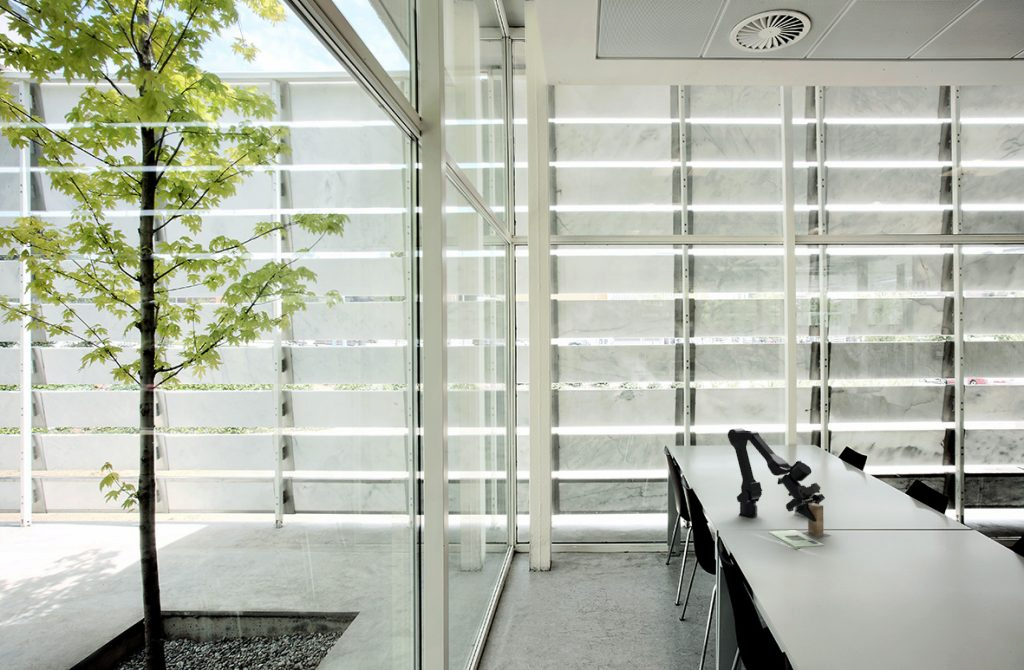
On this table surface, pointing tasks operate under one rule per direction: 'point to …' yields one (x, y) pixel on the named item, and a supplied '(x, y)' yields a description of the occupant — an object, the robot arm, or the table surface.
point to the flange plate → (795, 544)
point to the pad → (816, 536)
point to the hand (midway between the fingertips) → (818, 520)
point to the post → (817, 526)
